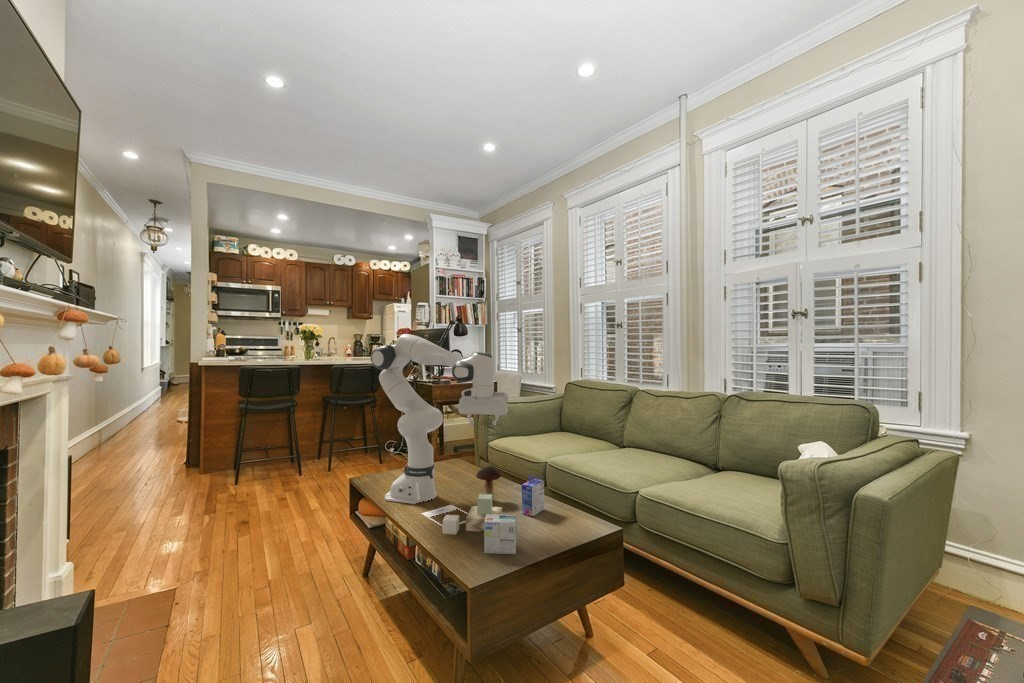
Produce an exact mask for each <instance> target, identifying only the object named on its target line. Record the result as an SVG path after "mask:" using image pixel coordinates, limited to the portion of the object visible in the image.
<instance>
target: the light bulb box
mask: <svg viewBox="0 0 1024 683" xmlns="http://www.w3.org/2000/svg"><path fill="white" fill-rule="evenodd" d="M517 530H518V529H517V514H516V513H515V514H511V513H510V514H507V513H506V514H504V513H502V514H486V517H485V521H484V532H483V533H484V534H483V541H484V543H483V549H484V550H483V553H484V554H498V555H499V554H501V555H502V554H503V555H505V554H506V555H516V553H517Z"/></svg>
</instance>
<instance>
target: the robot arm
mask: <svg viewBox="0 0 1024 683" xmlns="http://www.w3.org/2000/svg"><path fill="white" fill-rule="evenodd" d="M370 361H371V364H372V366H373V367H374V368H376V369H378V370H382V371H381V372H380V373H379V376H378V381H379V384H380V385H381V387H382V390H383V391H384V393H385V394H386V396H387V397H388V399H389V400H390V402H391V403H392V404H393V405H394V407H395V408H396V409H397V410H398V411H400V412H402V413H404V414H403V415H401V416H400V417H399V418H398V420H397V430H398V432H399V433H400V435H401V436H403V437H404V439H405V443H406V446H407V453H408V454H407V456H408V457H407V463H406V464H405V465H404V467H403V468H402V469H403V470H402V471H403V474H401V475H400V476H399V477H397V478H396V479H395V480H394V481H393V482H392V483H391V486H390V491H388V492H387V493H386V494H385V495H384V500H385V501H387V502H393V503H394V502H396V503H402V504H403V503H404V504H411V505H417V504H419V502H420V503H423V501H424V502H428V500H429V501H431V499H432V500H434V499H435V498H436V497H437V496H438V495H437V491H436V487H435V486H436V485H435V464H434V446H433V444H431V442H429V439H428V433H430V432H434V431H436V430H437V429H439V428H440V426H442V425H443V422H444V421H443V420H444V416H443V413H442V411H441V410H440V409H439V408H436V407H434V406H432V405H430V404H429V403H428V402H427V401H425V400H424V399H423V398H422V397H421V396H420V395H419V394H418V393H417V392H416V391H415V389H414V388H413V387H412V385H411V384H410V382H409V381H408V379H407V378H406V377H405V375H404V373H403V372H405V371H407V370H408V368H409V367H410V366H411V364H412V363H413V362H414V363H417V364H421V365H424V366H446V367H449V368H451V376H452V379H454V381H456V382H457V383H461V384H465V383H466V384H467V383H468V384H469V383H472V387H469V388H467V389H464V390H462V391H461V397H460V398H459V401H458V409H457V410H458V413H459V414H460V415H466V417H467V419H468V422H469V426H474V425H475V420H473V419H472V417H471V416H472V415H489V416H490V415H491V416H492V415H493V416H494V418H495V420H492V421H491V422H492V423H491V426H493V427H495V426H497V421H498V420H499V417H500V416H506V415H507V414H508V403H509V395H508V394H507V393H506V392H504V391H495V383H494V382H495V381H494V375H495V364H494V362H495V361H494V357H493V355H492V354H490V353H486V352H480V351H477V352H475V353H474V354H472V355H471V356H469V357H465V356H462V355H459V354H456V353H454V352H452V351H449V350H447V349H446V348H443V347H442V346H439V345H437V344H436V343H433V342H432V341H430V340H428V339H427V338H426V339H425V338H423V337H422V336H418V335H416V334H415V335H414V334H411V333H403V334H401V335H400V336H399V337H398V338H397V340H396V342H395V344H386V345H381V346H378V347H377V348H374V349H373V351H372V352H371V355H370ZM416 503H417V504H416Z"/></svg>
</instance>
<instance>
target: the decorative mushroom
mask: <svg viewBox="0 0 1024 683" xmlns="http://www.w3.org/2000/svg"><path fill="white" fill-rule="evenodd" d="M475 477H476V479H479V480H480V481H485V483H484V488H483V494H490V495H492V500H493V499H494V493H495V491H494V483H493V481H497V480H498V479H500V478H501V477H502V474H501V472H500V471H499V470H498V469H497V468H495V467H493V466H490V465H489V466H485V467H483V468H481V469H480V470H478V472H477V473H476V476H475Z"/></svg>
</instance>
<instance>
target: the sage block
mask: <svg viewBox="0 0 1024 683" xmlns="http://www.w3.org/2000/svg"><path fill="white" fill-rule="evenodd" d="M476 502H477V505H476V506H477V515H486V514H491V512H492V507H493V499H492V495H490V494H484V493H480V494H478V496H477V501H476Z"/></svg>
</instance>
